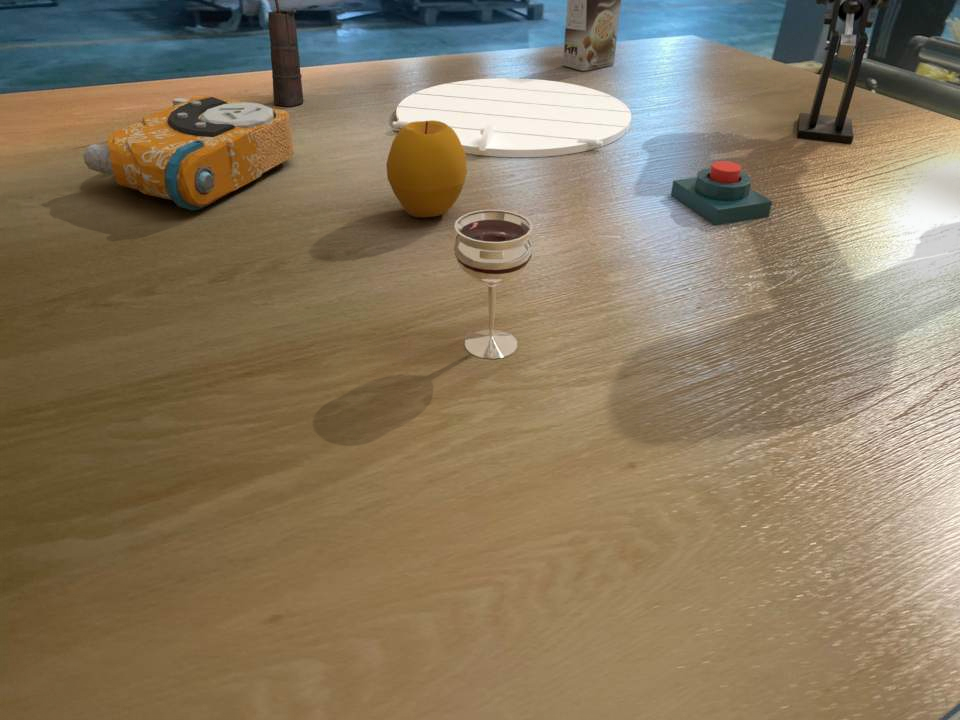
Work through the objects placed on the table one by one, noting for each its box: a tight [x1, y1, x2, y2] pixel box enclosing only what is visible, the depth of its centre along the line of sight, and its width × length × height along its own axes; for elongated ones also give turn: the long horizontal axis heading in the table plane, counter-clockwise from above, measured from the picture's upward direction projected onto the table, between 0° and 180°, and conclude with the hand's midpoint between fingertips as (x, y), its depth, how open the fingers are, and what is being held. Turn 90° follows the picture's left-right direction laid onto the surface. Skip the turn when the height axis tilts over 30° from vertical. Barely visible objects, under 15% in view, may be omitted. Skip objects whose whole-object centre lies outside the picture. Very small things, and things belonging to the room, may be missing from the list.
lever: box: [835, 0, 864, 60], centre depth 118 cm, size 13×4×4 cm, turn 160°
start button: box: [709, 160, 742, 184], centre depth 95 cm, size 4×4×2 cm
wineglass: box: [453, 209, 533, 360], centre depth 68 cm, size 7×7×12 cm
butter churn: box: [267, 0, 305, 107], centre depth 126 cm, size 9×10×28 cm
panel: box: [670, 167, 773, 227], centre depth 97 cm, size 10×8×4 cm
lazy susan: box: [392, 77, 632, 158], centre depth 127 cm, size 40×39×3 cm
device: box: [83, 94, 295, 211], centre depth 105 cm, size 23×8×30 cm
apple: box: [386, 120, 468, 218], centre depth 92 cm, size 10×10×12 cm
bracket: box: [796, 29, 870, 145], centre depth 119 cm, size 10×8×15 cm
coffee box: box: [562, 0, 622, 72], centre depth 152 cm, size 9×6×16 cm
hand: (844, 42), depth 120 cm, fingers closed on lever, 4 cm apart
